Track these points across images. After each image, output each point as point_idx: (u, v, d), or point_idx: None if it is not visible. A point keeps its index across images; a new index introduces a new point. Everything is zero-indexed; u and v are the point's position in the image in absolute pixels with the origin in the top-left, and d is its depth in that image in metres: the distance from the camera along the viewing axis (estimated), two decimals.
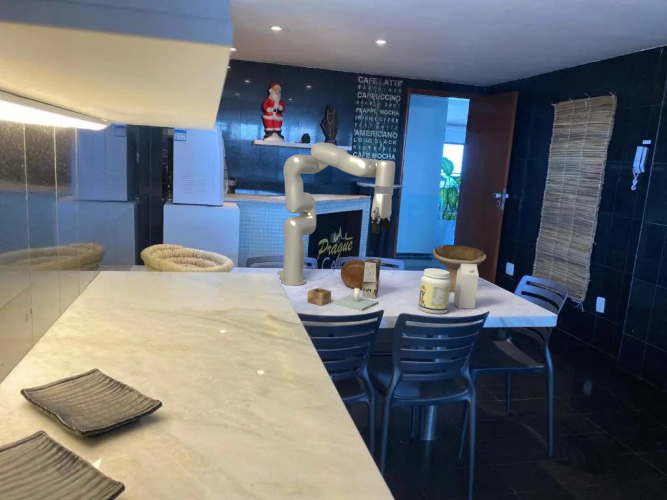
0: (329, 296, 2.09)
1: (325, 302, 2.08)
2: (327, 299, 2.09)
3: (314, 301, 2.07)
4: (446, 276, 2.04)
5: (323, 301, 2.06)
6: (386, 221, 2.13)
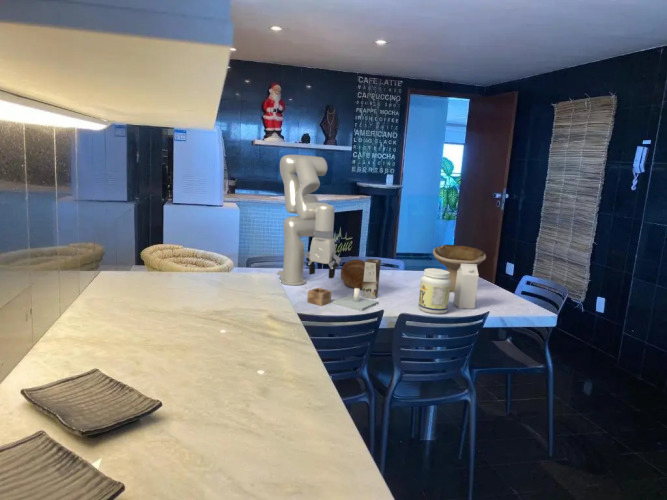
0: (329, 296, 2.09)
1: (325, 302, 2.08)
2: (327, 299, 2.09)
3: (314, 301, 2.07)
4: (446, 276, 2.04)
5: (323, 301, 2.06)
6: (313, 264, 2.09)
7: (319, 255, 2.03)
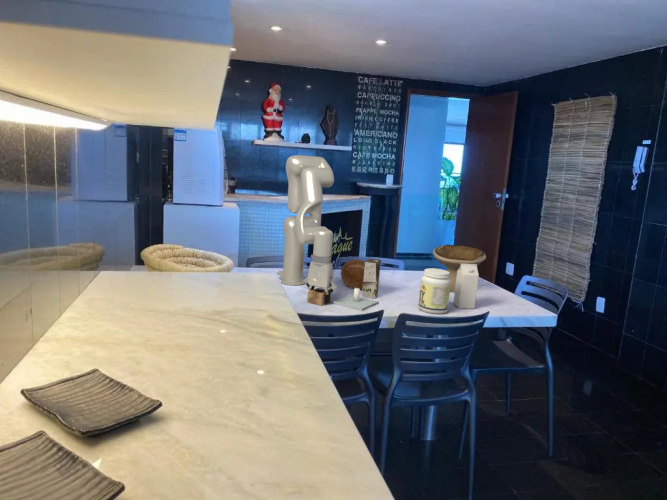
0: None
1: None
2: None
3: (314, 301, 2.07)
4: (446, 276, 2.04)
5: (323, 301, 2.06)
6: None
7: (317, 279, 2.06)
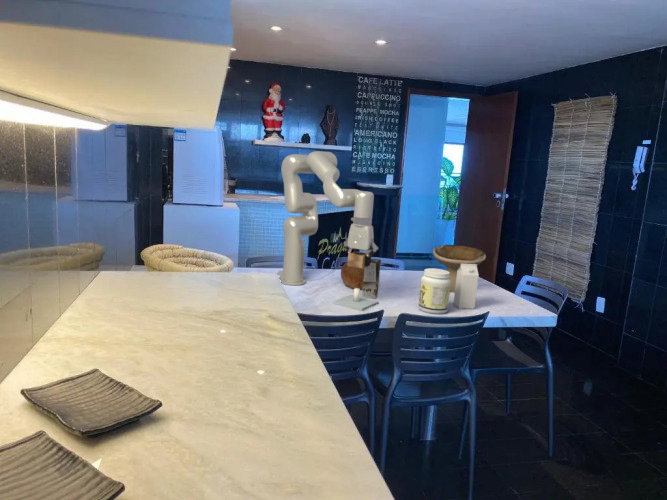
0: None
1: None
2: None
3: (354, 264, 2.06)
4: (446, 276, 2.04)
5: (363, 263, 2.05)
6: None
7: (358, 242, 2.05)
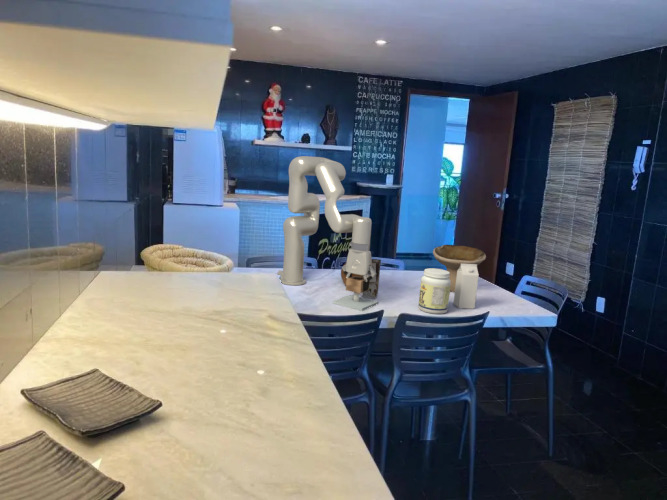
0: None
1: None
2: None
3: (352, 289, 2.08)
4: (446, 276, 2.04)
5: (362, 288, 2.07)
6: None
7: (356, 267, 2.07)
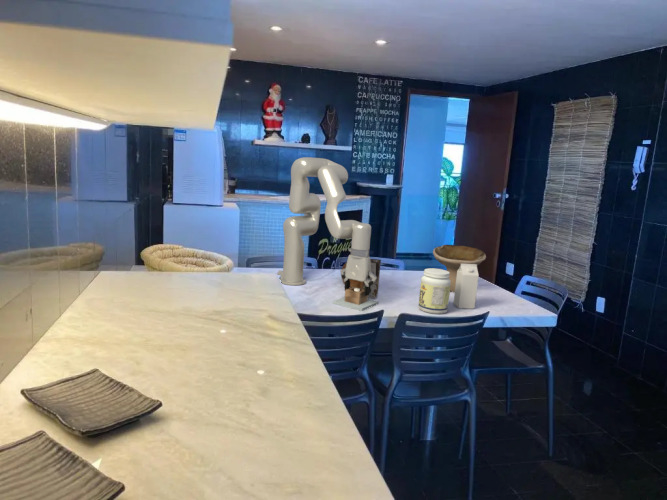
0: None
1: (362, 301, 2.09)
2: (364, 298, 2.10)
3: (351, 300, 2.09)
4: (446, 276, 2.04)
5: (360, 300, 2.08)
6: (348, 281, 2.13)
7: (355, 273, 2.07)
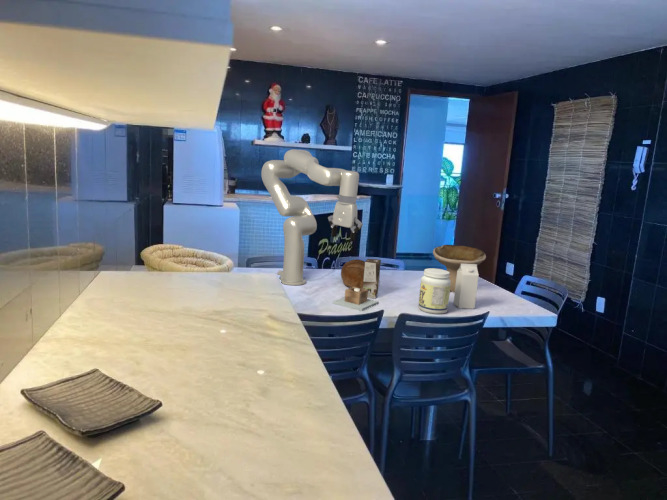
0: (365, 295, 2.11)
1: (362, 301, 2.09)
2: (364, 298, 2.10)
3: (351, 300, 2.09)
4: (446, 276, 2.04)
5: (360, 300, 2.08)
6: (335, 227, 2.21)
7: (342, 219, 2.14)
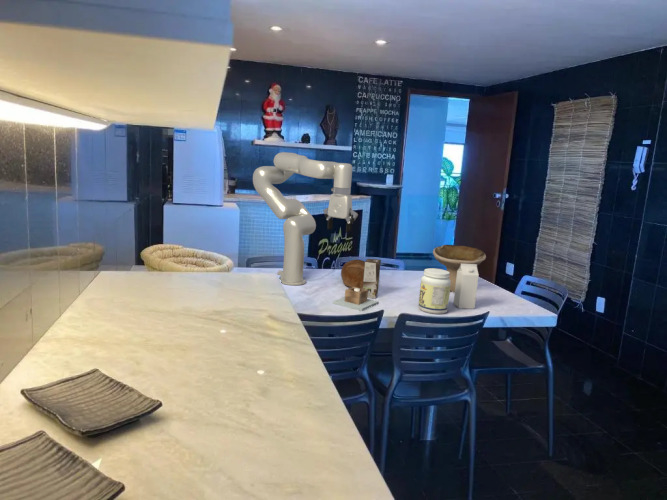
0: (365, 295, 2.11)
1: (362, 301, 2.09)
2: (364, 298, 2.10)
3: (351, 300, 2.09)
4: (446, 276, 2.04)
5: (360, 300, 2.08)
6: (331, 220, 2.24)
7: (337, 210, 2.18)
